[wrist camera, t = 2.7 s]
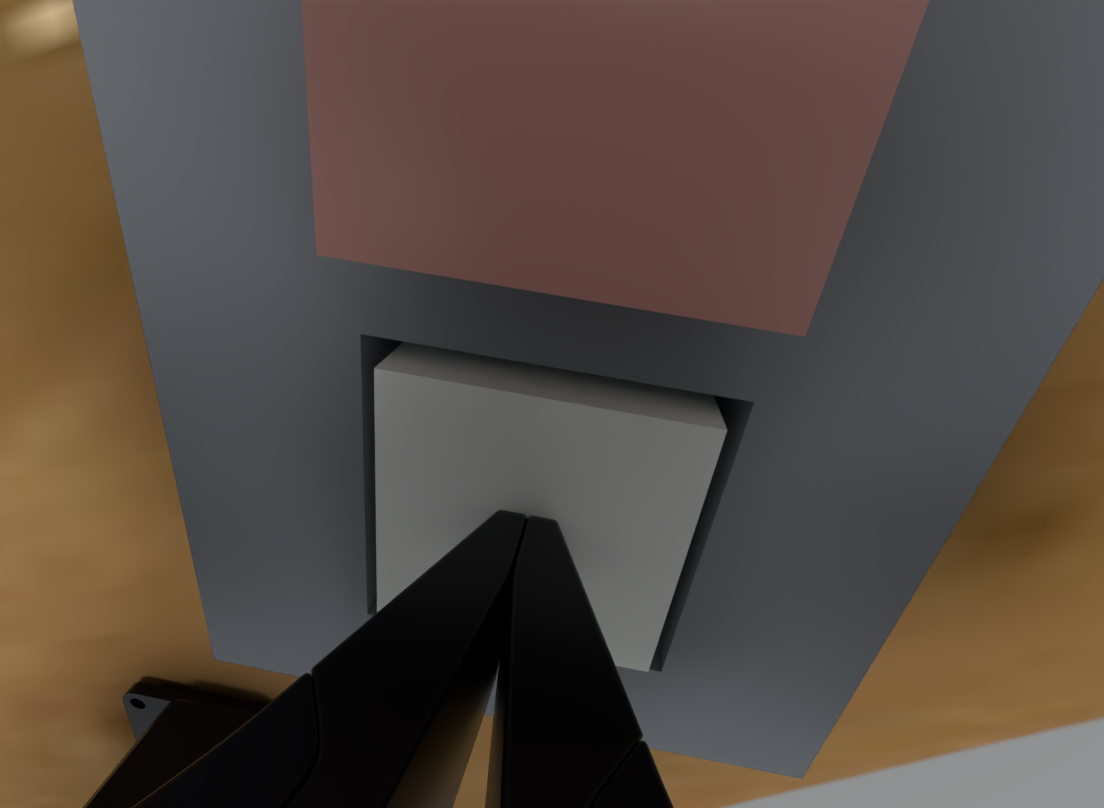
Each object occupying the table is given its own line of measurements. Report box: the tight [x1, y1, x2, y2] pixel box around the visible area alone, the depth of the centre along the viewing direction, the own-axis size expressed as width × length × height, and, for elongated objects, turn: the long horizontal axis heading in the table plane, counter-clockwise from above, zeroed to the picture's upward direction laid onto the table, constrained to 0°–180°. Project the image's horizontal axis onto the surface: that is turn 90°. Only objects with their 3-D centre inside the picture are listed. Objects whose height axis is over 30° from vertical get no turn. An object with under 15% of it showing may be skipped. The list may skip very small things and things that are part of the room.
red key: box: [301, 0, 929, 337], centre depth 5 cm, size 4×4×3 cm
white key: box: [374, 342, 727, 672], centre depth 9 cm, size 4×4×3 cm
